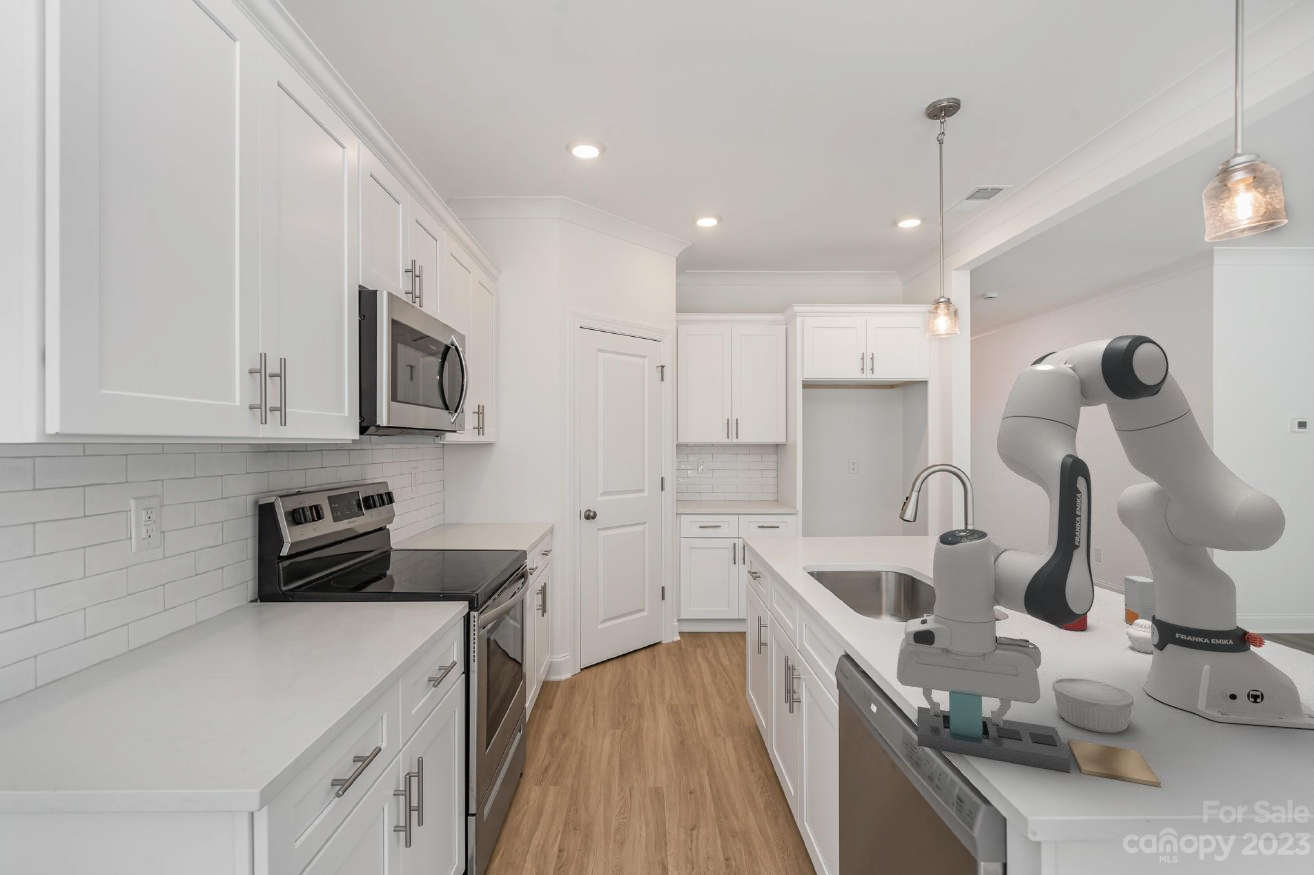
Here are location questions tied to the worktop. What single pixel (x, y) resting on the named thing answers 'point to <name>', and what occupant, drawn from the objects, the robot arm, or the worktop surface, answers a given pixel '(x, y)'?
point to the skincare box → (1138, 599)
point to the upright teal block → (965, 714)
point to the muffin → (1141, 636)
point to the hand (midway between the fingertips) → (965, 719)
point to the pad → (1112, 763)
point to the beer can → (1077, 625)
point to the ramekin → (1093, 704)
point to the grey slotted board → (997, 741)
